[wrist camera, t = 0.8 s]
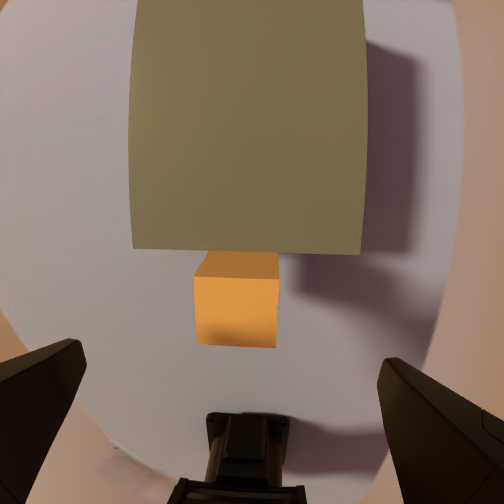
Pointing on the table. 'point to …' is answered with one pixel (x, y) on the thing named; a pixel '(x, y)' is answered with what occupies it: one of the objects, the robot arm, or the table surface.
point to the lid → (247, 145)
